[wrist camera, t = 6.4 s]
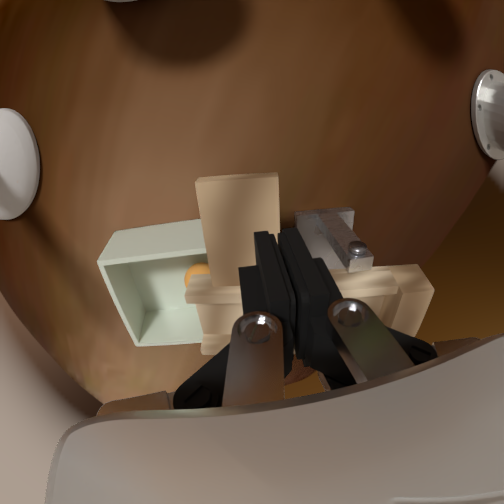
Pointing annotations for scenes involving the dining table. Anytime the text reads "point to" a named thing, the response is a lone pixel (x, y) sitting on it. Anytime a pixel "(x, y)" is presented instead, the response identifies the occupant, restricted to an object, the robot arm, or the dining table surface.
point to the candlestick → (17, 164)
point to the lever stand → (334, 238)
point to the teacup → (120, 0)
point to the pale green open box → (155, 281)
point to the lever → (268, 219)
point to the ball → (196, 271)
